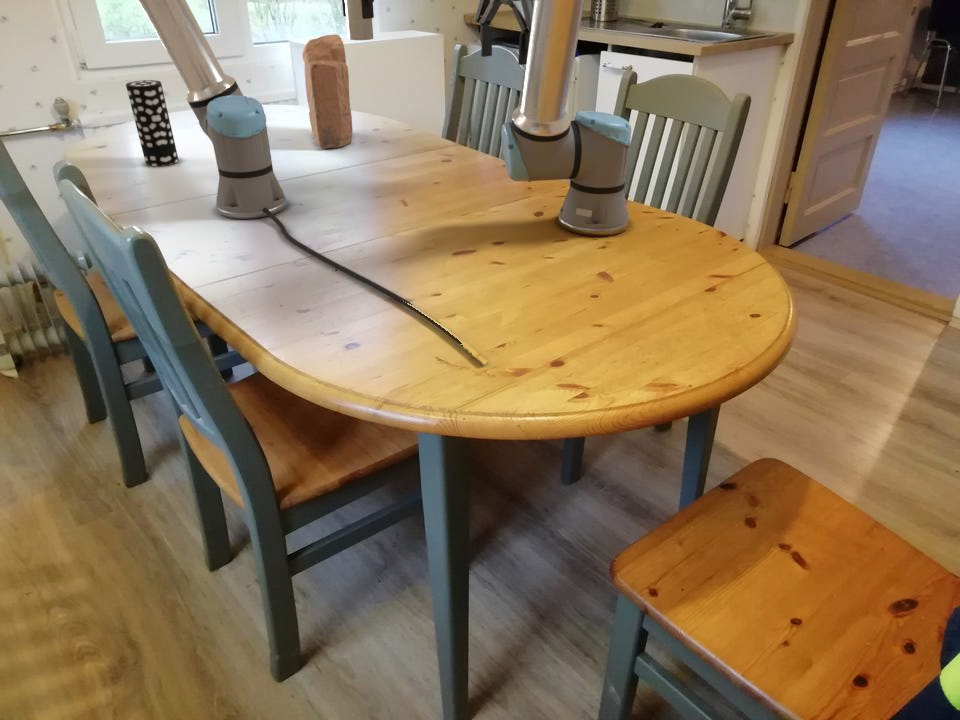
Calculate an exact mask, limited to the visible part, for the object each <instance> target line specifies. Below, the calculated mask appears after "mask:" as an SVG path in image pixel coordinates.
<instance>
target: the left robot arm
mask: <svg viewBox="0 0 960 720" xmlns="http://www.w3.org/2000/svg"><path fill="white" fill-rule="evenodd" d="M137 1H138V3H139V5H140V6H141V8H142V10H143V12H144V13H145V15H146V17H147V19H148V20H149V22H150V24H151V26H152V27H153V29H154V32H156V34H157V36H158V38H159V40H160V42H161V43H162V45H163V47H164V49H165V50H166V52H167V54H168V56H169V57H170V59H171V61H172V63H173V64H174V66H175V68H176V70H177V71H178V73H179V75H180V77H181V78H182V80H183V82H184V84H185V85H186V88H187V89H188V92H187V96H186V102H187V103H188V104H189V106H190V108H191V110H192V112H193V113H194V115H195V117H196V119H197V120H198V124H199V126H200V128H201V130H202V131H203V132H204V134H205V135H206V137H208V139H209V141H210V142H211V143H212V147H213V151H214V156H215V161H216V167H217V169H218V170H217V172H218V185H217V193H216V201H215V203H216V204H215V206H216V210H217V213H218V214H219V215H221V216H223V217H225V218H229V219H236V220H253V219H260V218H261V219H262V218H265V217H266V218H267V217H268V218H270V219H271V220H272V221H273V222H274V223H275V224H276V225H277V226H278V227H279V229H280V231H281V233H282V235H283V236H284V238H285V239H286V240H287V241H289V243H291V244H293V245H294V246H296V247H297V248H299V249H301V250H303V251H304V252H306V253H307V254H309V255H311V256H312V257H314V258H317V259H318V260H320V261H321V262H323V263H326V264H327V265H328V266H331V267H332V268H335V269H336V270H338V271H341V272H342V273H344V274H346V275H348V276H350V277H351V278H354V279H356V280H357V281H359V282H361V283H364V284H365V285H366V286H369V287H370V288H373V289H374V290H377V291H378V292H379V293H382V294H383V295H386V296H387V297H389V298H391V299H392V300H394V301H396V302H398V303H399V304H400V305H403V306H404V307H406V308H408V309H409V310H411V311H413V312H414V313H416V314H417V315H419V316H420V317H422V318H423V319H424V320H426V321H427V322H429V323H430V324H432V325H433V326H435V327H436V328H438V329H439V330H440V331H441V332H443V333H444V334H445V335H446V336H448V337H449V338H450V339H452V341H454V342H455V343H457V344H458V345H459V344H462V343H461V342H460V341H459V340H458V339H457V338H455V337H454V336H453V335H451V334H450V333H449V332H448V331H446V330H445V329H444V328H442V327H441V326H440V325H438V324H437V323H435V322H434V321H433V320H431V319H430V318H428V317H427V316H425V315H424V314H422V313H421V312H419V311H418V310H416V309H415V308H413V307H412V306H410V305H408V304H407V303H409V304H411V302H410V301H408V300H407V299H405V298H404V297H402V296H400V295H398V294H396V293H395V292H393V291H391V290H389V289H388V288H385V287H384V286H382V285H380V284H378V283H376V282H375V281H373V280H371V279H369V278H367V277H364V276H363V275H361V274H359V273H357V272H355V271H353V270H351V269H349V268H347V267H345V266H343V265H342V264H339V263H337V262H336V261H334V260H332V259H330V258H329V257H326V256H324V255H323V254H321V253H319V252H317V251H315V250H314V249H312V248H311V247H309V246H307V245H305V244H304V243H302V242H300V241H298V240H297V239H295V238H294V237H292V236H291V235H290V234H289V232H288V231H287V229H286V227H285V225H284V224H283V222H282V221H281V220H280V219H278V217H277V216H276V214H278V213H280V212H282V211H283V210H285V209H286V207H287V199H286V194H285V193H284V191H283V189H282V187H281V184H280V182H279V180H278V179H277V177H276V175H275V172H274V167H273V160H272V154H271V147H270V140H269V135H268V134H269V133H268V127H267V116H266V113H265V110H264V107H263V105H262V103H261V102H260V101H258V100H257V99H256V98H253V97H251V96H249V97H248V96H246V95H244V94H243V92H242V90H241V89H240V87H239V85H238V83H237V80H236V78H235V77H233V76H230V75H228V74H226V73H224V71H223V69H222V67H221V64H220V62H219V61H218V59H217V57H216V55H215V53H214V52H213V49H212V47H211V46H210V44H209V42H208V40H207V38H206V36H205V35H204V32H203V30H202V29H201V27H200V25H199V22H198V21H197V19H196V17H195V15H194V13H193V12H192V10H191V8H190V6H189V4H188V2H187V0H137ZM374 3H375V0H362V9H363V19H369V18H372V19H374V18H375V13H374ZM341 5H342V16H343V17H345V18H346V7H345V0H341ZM403 301H404V302H403ZM405 302H406V303H405ZM412 304H413V303H412ZM412 304H411V305H412ZM462 346H463V345H460V347H462Z"/></svg>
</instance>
